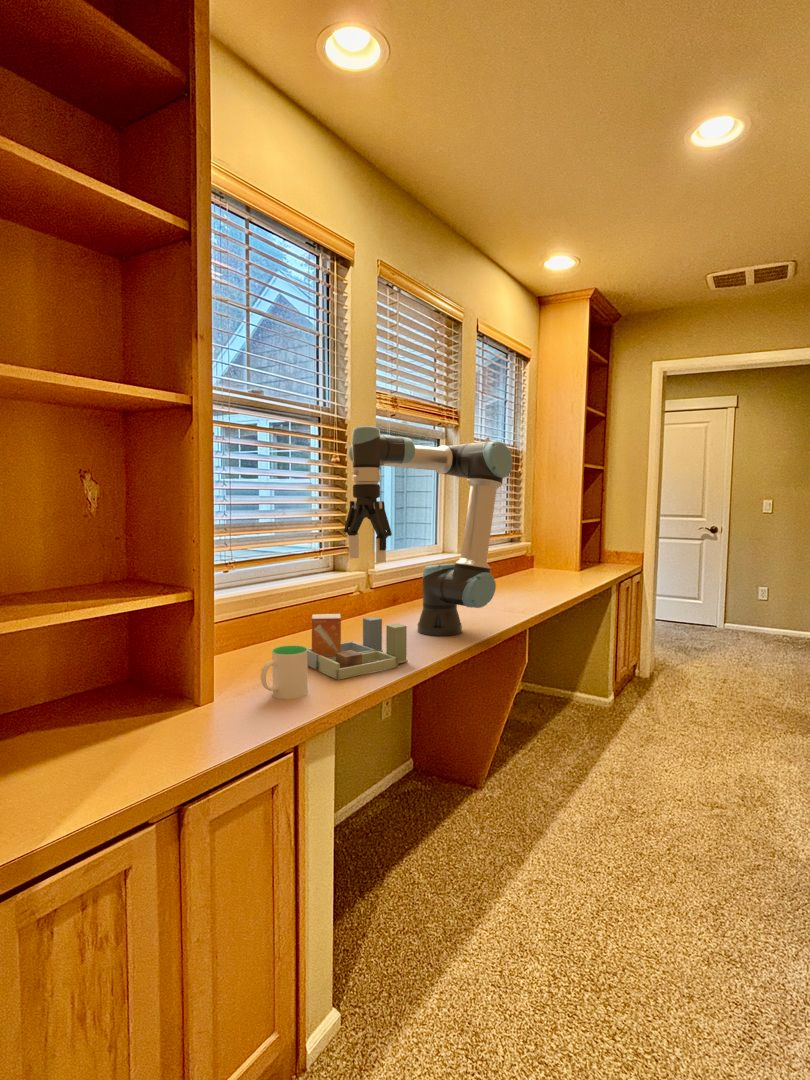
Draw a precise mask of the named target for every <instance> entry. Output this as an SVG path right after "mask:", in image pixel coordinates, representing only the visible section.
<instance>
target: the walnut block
mask: <svg viewBox="0 0 810 1080" xmlns="http://www.w3.org/2000/svg"><path fill="white" fill-rule="evenodd" d="M336 662H337V663H340V668H345V667H350V666H355V665H360V664H363V663H362V654H360V653H358V652H355V651H353V650H349V651H343V652H339V653H336Z"/></svg>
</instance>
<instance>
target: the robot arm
mask: <svg viewBox="0 0 810 1080" xmlns="http://www.w3.org/2000/svg"><path fill="white" fill-rule="evenodd" d="M351 440H352V441H351V444H350V446H349V448H348V456H349V460H350V461H351V462H352V482H353V483H354V484H353V485H352V497H353V498H355V499H356V500H351V501H349V508H348V509H349V510H348V513H347V518H346V522H345V525H344V529H343V531H344V533H345V534H347V536H348V545H349V547H348V552H349V556H348V557H349V559H359V555H360V551H359V550H360V546H359V539H360V537H359V530H360V528H361V525H362V523H363V522H364V519H366V518H367V519H368V520H369V521H370V523H371V525H372V527H373V529H374V532H375V534H376V537H375V563H376V564H378V563H379V564H380V563H386V562H387V560H386V559H387V553H386V552H387V539H388V537H391V536H392V535H393V533H392V530H391V526H390V524H389V523H390V522H389V520H388V516H387V512H386V510H385V507H386V506H385V505H386V504H385V501H383V500H381V501H380V500H377V499H379V498H380V497H381V485H380V484H379V483H381V466H382V467H393V468H404V469H414V470H415V469H416V470H426V471H427V470H428V471H434V472H436V473H437V474H440V475H446V476H452V477H457V478H458V477H459V478H465V479H466V483H468V484H469V486H470V487H469V488H470V489H469V492H468V493H469V494H468V495H469V496H468V502H467V509H466V514H465V515H466V517H465V524H464V530H463V536H462V544H461V551H460V558H459V559H458V560H456V561H455V562H454V563H443V564H432V565H426V566H425V567H423V571H422V577H421V578H422V610H421V613H420V617H419V620H418V622H417V632H418V633H420V634H422V635H423V634H424V635H426V636H436V637H437V636H441V637H442V636H446V637H447V636H455V635H459V634H461V633H462V631H463V630H462V628H463V626H462V625H463V624H462V622H461V619H460V615H459V612H458V606H462V607H466V608H470V609H471V608H472V609H473V608H474V609H480V608H483V607H485V606H487V605H488V603H491V601H492V600H493V597H494V596H495V593H496V588H497V587H496V585H497V584H496V581H495V577H494V576H493V575H492V574H491V566H490V565H489V564H488V561H487V560H488V556H489V555H488V554H489V547H490V541H491V540H490V539H491V534H492V533H491V532H492V525H493V519H494V511H495V504H496V503H495V502H496V498H497V497H496V496H497V490H498V489H499V488H500V487H502V486H503V479H504V478H507V477H508V476H509V475H510V474H511V472H512V469H513V457H512V454H511V453H512V452H511V451H510V449H509V448H508V446H507V445H506V444H505V443H503V442H502V441H498V440H497V441H490V440H488V441H482V442H472V443H470V442H469V443H463V444H462V443H461V444H456V445H455V444H454V445H446V444H445V445H440V446H437V447H435V446H434V447H433V446H426V445H417V444H415V443H414V441H413V440H412V439H411V438H410V437H405V436H404V437H403V436H395V435H394V436H392V435H391V436H390V435H382V434H381V431H380V428H379V427H378V426H372V425H369V426H368V425H364V426H363V425H362V426H361V425H360V426H357V427H356V426H355V427H354V428H353V430H352V438H351ZM457 605H458V606H457Z"/></svg>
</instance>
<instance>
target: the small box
mask: <svg viewBox="0 0 810 1080" xmlns="http://www.w3.org/2000/svg"><path fill="white" fill-rule="evenodd" d="M341 643H342V616H341V613H321V614H319V613H318V614H315V613H314V614H311V648H312V652H315V653H317V654H319V655H322V656H324V657H326V658H330V657H336V653H339V652H341Z"/></svg>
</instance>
